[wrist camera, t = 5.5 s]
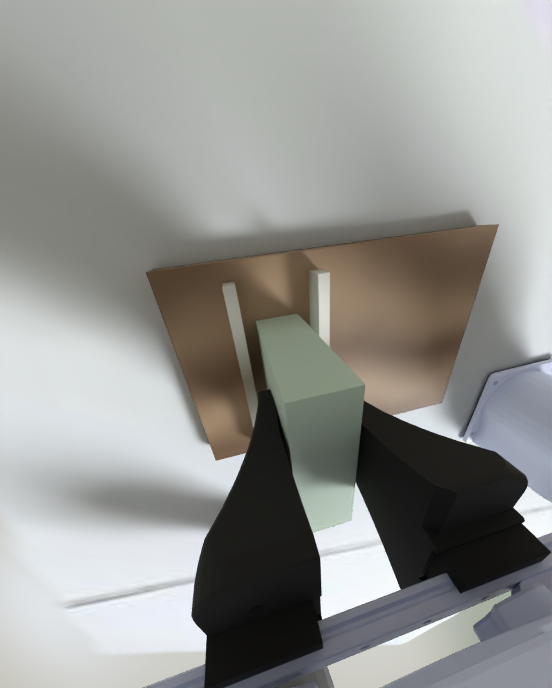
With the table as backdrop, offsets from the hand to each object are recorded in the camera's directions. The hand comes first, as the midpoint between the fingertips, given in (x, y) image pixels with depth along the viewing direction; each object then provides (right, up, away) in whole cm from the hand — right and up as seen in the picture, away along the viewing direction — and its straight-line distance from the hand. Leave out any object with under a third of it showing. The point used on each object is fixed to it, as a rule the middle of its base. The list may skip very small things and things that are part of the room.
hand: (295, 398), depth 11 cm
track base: (+3, +3, +4) cm, 6 cm away
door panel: (-1, +1, +3) cm, 3 cm away
